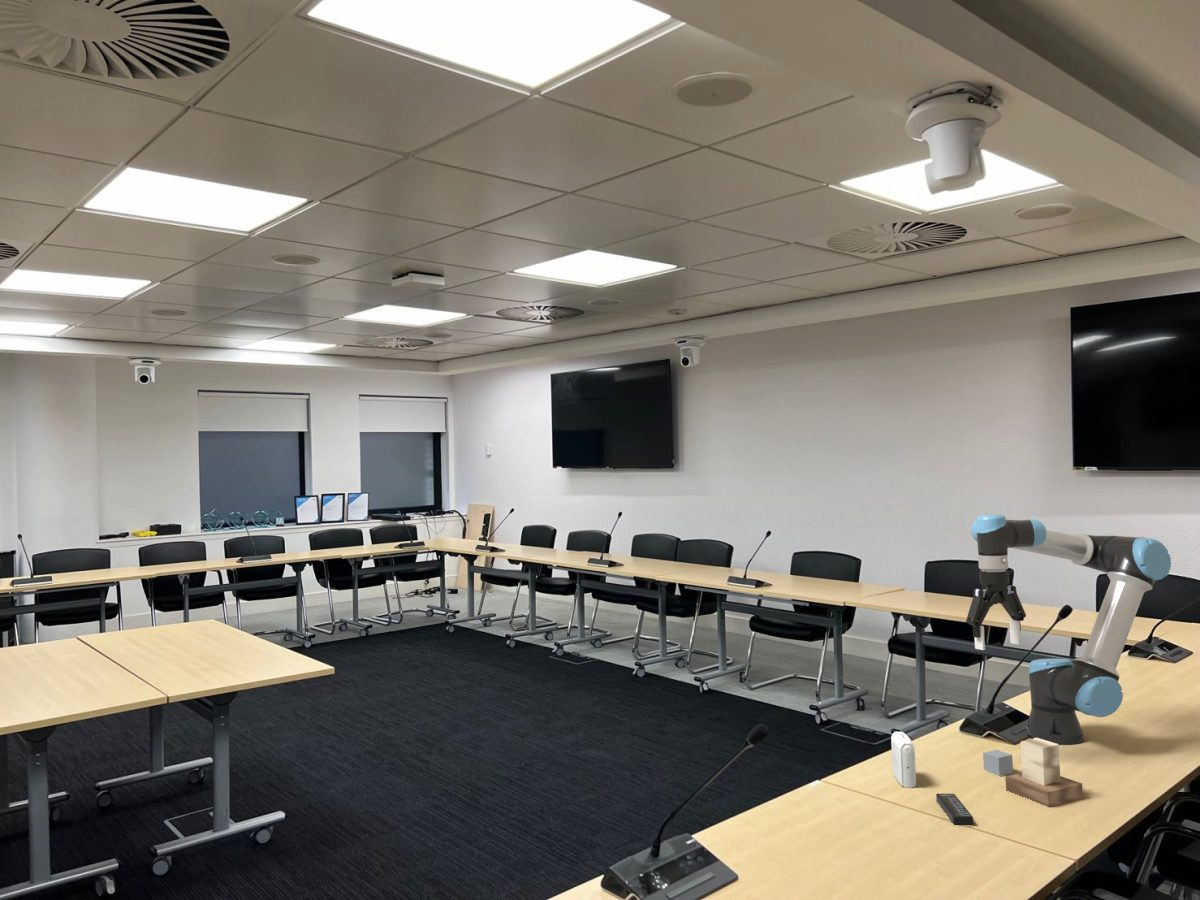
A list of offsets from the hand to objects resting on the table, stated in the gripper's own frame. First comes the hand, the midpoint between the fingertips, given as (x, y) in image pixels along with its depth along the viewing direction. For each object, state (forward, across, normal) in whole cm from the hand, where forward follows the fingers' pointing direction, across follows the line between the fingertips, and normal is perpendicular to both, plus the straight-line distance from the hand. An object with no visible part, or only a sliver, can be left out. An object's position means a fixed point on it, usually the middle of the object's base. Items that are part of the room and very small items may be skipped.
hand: (998, 646), depth 230 cm
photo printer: (+32, -34, +2) cm, 47 cm away
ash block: (+28, -11, -21) cm, 37 cm away
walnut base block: (+32, -11, -21) cm, 40 cm away
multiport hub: (+32, -39, -19) cm, 54 cm away
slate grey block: (+32, -8, -5) cm, 33 cm away
